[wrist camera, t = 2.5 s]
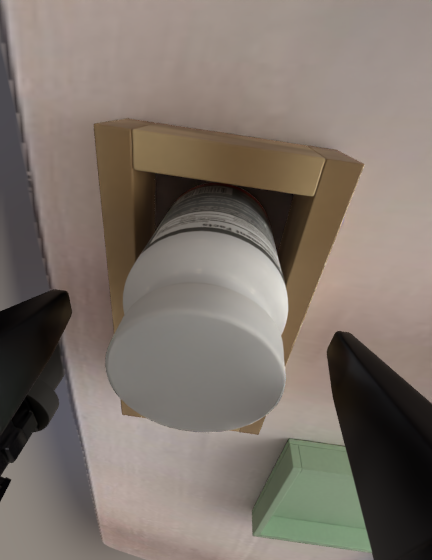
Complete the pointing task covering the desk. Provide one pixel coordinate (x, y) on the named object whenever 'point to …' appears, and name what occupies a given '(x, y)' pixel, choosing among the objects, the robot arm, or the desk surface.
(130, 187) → the rack
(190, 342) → the pill bottle
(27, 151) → the desk surface
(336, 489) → the tray
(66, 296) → the robot arm
